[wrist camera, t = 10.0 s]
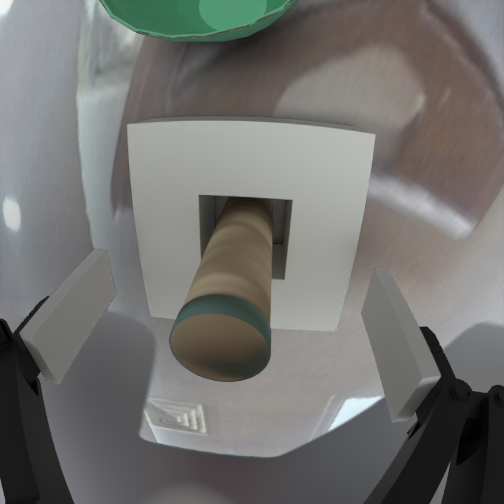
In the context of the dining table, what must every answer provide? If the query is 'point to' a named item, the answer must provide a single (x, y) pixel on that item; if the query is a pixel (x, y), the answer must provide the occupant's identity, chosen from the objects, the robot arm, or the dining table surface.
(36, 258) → the dining table surface
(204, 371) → the peg
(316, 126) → the socket block
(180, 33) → the mug
